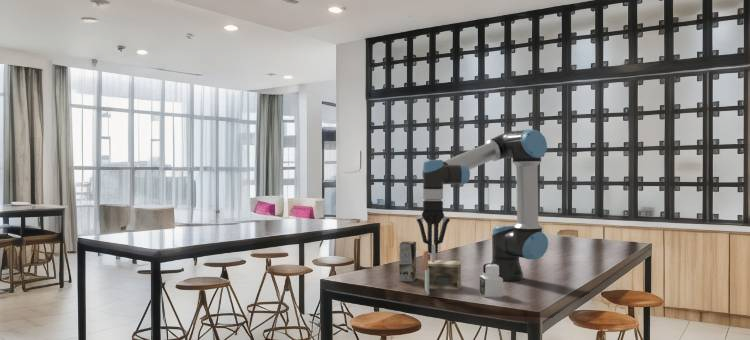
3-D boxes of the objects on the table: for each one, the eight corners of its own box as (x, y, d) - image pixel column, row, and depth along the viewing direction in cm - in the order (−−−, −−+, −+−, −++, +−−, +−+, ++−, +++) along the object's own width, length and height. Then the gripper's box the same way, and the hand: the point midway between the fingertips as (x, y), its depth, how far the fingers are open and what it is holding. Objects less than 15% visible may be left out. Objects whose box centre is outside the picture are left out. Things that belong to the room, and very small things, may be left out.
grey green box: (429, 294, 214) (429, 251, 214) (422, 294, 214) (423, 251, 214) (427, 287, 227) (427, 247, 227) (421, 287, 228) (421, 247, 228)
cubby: (460, 285, 234) (460, 261, 234) (459, 289, 225) (460, 264, 225) (426, 283, 237) (427, 259, 237) (424, 288, 228) (424, 263, 228)
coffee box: (413, 282, 240) (413, 244, 240) (398, 281, 242) (399, 243, 242) (416, 278, 249) (416, 241, 249) (402, 277, 251) (402, 240, 251)
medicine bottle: (479, 293, 219) (479, 262, 219) (497, 293, 219) (497, 262, 219) (484, 297, 212) (484, 265, 212) (503, 297, 212) (503, 265, 212)
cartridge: (449, 283, 232) (449, 276, 232) (448, 285, 228) (448, 278, 228) (437, 283, 233) (437, 275, 233) (436, 285, 229) (436, 277, 229)
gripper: (447, 199, 221) (446, 259, 221) (414, 199, 219) (414, 260, 219) (451, 200, 213) (451, 263, 214) (418, 200, 212) (418, 263, 212)
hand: (432, 261), depth 216 cm, fingers closed
